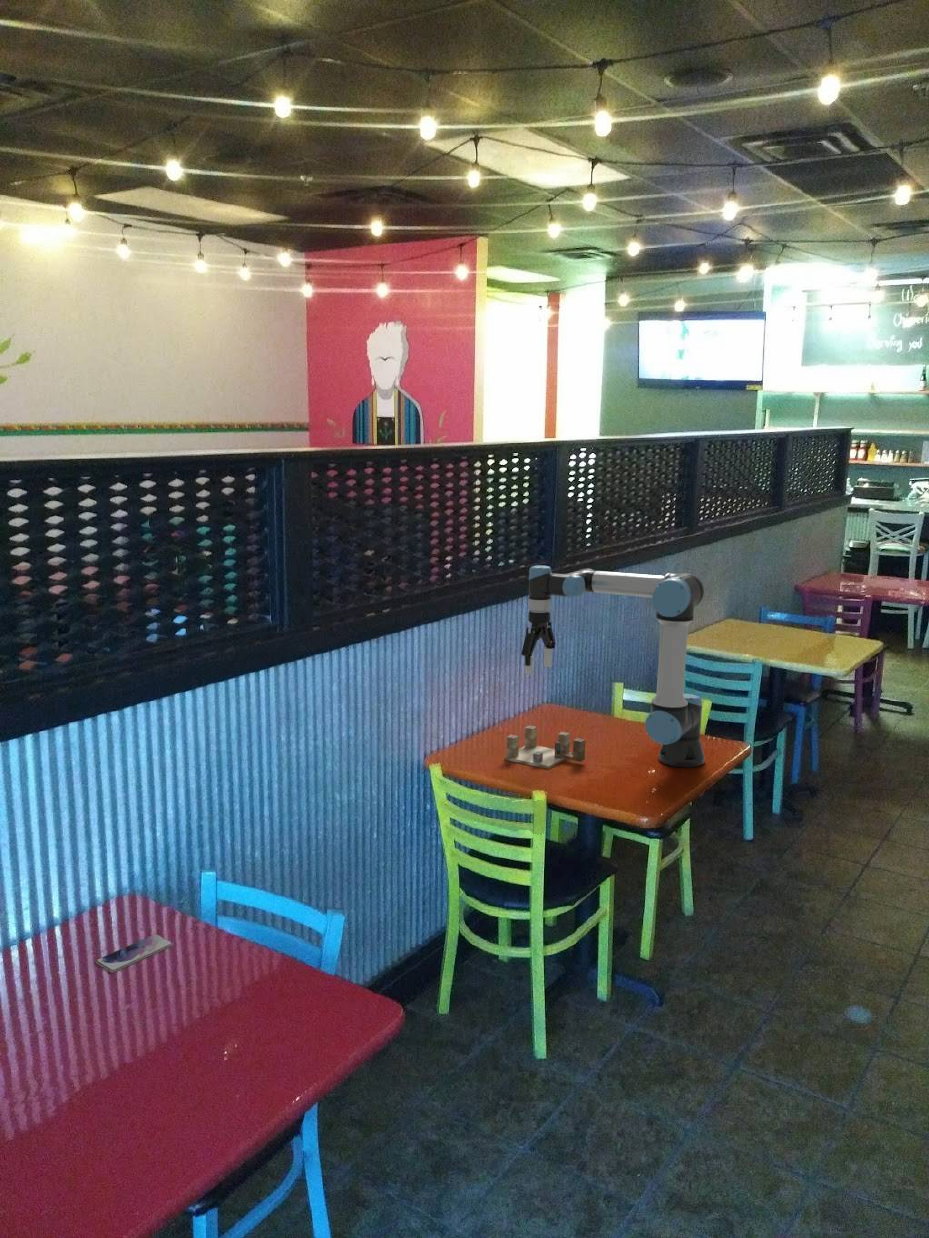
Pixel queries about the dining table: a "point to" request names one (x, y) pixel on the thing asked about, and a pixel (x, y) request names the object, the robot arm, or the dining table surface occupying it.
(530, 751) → the stool seat
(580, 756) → the hinged leg
